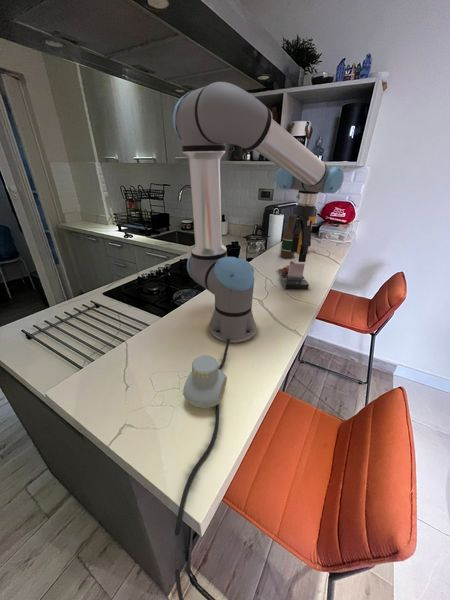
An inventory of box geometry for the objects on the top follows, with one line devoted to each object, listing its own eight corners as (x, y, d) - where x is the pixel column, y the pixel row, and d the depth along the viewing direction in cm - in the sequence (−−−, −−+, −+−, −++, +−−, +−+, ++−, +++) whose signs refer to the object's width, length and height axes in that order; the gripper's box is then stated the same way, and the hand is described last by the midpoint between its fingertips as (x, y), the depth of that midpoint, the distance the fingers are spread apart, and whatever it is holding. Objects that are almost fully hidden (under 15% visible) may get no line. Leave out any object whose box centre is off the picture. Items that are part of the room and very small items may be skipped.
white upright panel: (300, 278, 117) (303, 261, 113) (301, 280, 115) (304, 263, 111) (287, 278, 117) (289, 260, 113) (288, 280, 115) (291, 262, 111)
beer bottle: (277, 255, 153) (282, 213, 141) (288, 253, 156) (293, 212, 144) (285, 259, 147) (291, 216, 135) (296, 257, 150) (302, 215, 138)
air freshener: (215, 418, 56) (215, 385, 51) (180, 409, 58) (177, 376, 53) (228, 381, 65) (229, 351, 60) (198, 375, 67) (196, 344, 62)
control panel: (308, 289, 113) (309, 284, 111) (285, 289, 112) (285, 283, 111) (301, 279, 122) (302, 274, 121) (280, 279, 122) (281, 274, 121)
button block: (299, 279, 123) (300, 273, 121) (282, 278, 123) (283, 273, 121) (294, 271, 131) (295, 265, 130) (278, 270, 131) (279, 265, 130)
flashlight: (300, 209, 144) (298, 206, 152) (294, 253, 156) (291, 248, 165) (318, 209, 143) (315, 207, 152) (310, 254, 155) (307, 249, 164)
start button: (293, 271, 124) (294, 268, 123) (286, 271, 124) (286, 267, 123) (292, 268, 127) (292, 265, 127) (284, 268, 127) (285, 265, 126)
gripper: (289, 200, 112) (283, 247, 122) (305, 209, 90) (295, 266, 100) (306, 200, 112) (298, 248, 122) (326, 210, 90) (315, 267, 100)
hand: (297, 256), depth 111 cm, fingers open, 13 cm apart
